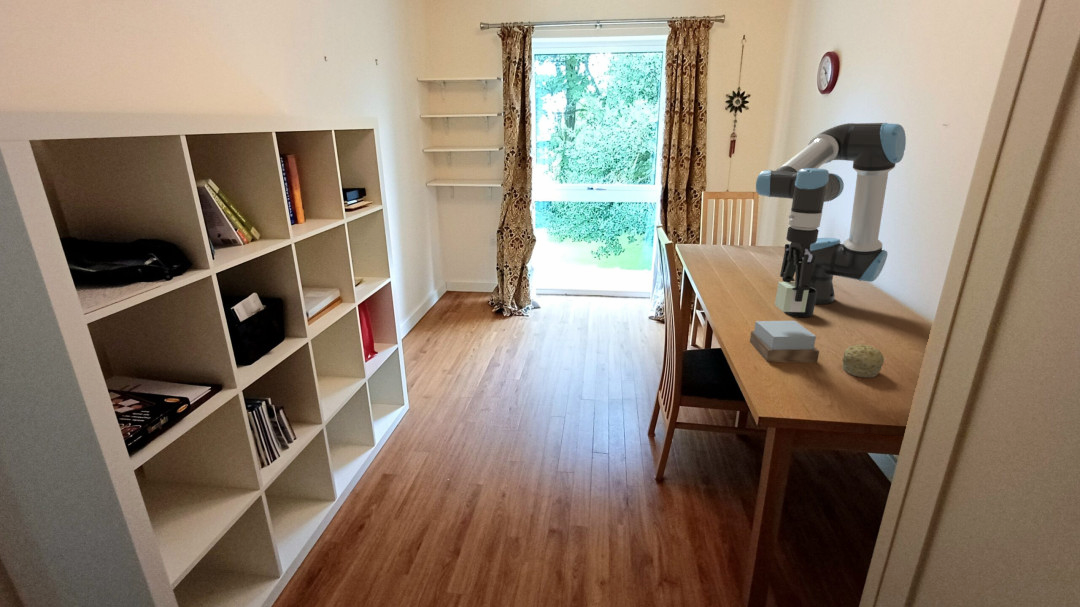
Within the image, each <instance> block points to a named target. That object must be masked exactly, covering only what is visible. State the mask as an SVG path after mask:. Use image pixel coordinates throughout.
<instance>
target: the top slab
mask: <svg viewBox="0 0 1080 607" xmlns="http://www.w3.org/2000/svg"><path fill="white" fill-rule="evenodd" d="M753 331H754V334H755V335H756V336H757V337H758V338H759V339H761V340H762V341H763V342H764V343H765V344H766V345H767V346H768V347H769V348H770V349H771V350H800V349H814V347H815V345H816V344H815V343H816V340H817V336H816V334H814V333H812V332H811V331H810V330H808V328H806V327H805V326H803V325H802V324H801V323H799V322H797V321H796V320H755V323H754V329H753Z"/></svg>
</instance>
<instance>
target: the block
mask: <svg viewBox="0 0 1080 607" xmlns="http://www.w3.org/2000/svg"><path fill="white" fill-rule="evenodd" d="M792 288H795V281H790V282H784V281H778V283H777V288H776V295H775V300H774V301H775V302H774V306H776V307H777V308H778V309H779V310H780V311H782V312H783V313H785V312H790V311H789V310H790V304H791V298H792V292H793V289H792ZM808 292H809V290H804V294H803V299H802V305H801V310H800V312H805V308H806V303H807V298H808Z"/></svg>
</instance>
